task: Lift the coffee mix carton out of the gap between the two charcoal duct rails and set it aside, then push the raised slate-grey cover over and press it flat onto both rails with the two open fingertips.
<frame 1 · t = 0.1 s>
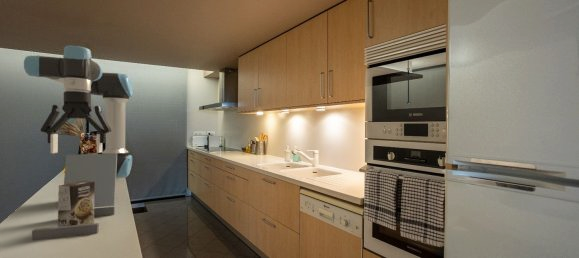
hand: (77, 152, 95), 28 cm above the counter, tool pointing down, fingers open, 13 cm apart
duct rails: (78, 225, 103), on the counter
coffee box: (76, 227, 101), on the counter
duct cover: (90, 180, 115), point 14 cm above the counter, hinge at 100.0°
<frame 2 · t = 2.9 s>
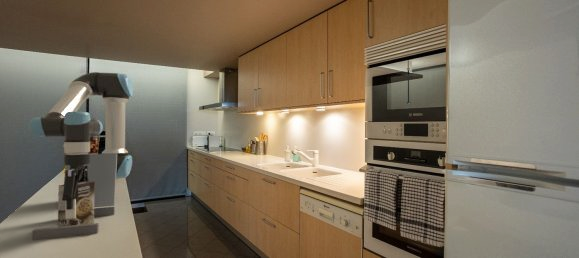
hand: (76, 213, 101), 5 cm above the counter, tool pointing down, fingers closed on coffee box, 10 cm apart
coffee box: (76, 227, 101), on the counter, touching gripper
everything else where it was.
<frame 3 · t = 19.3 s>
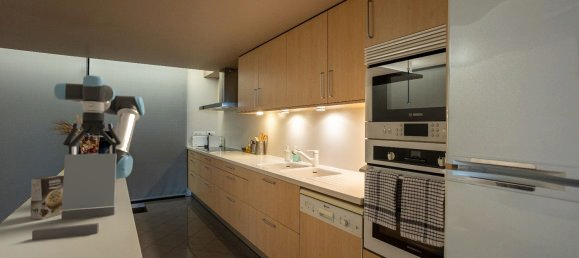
hand: (93, 161, 117), 22 cm above the counter, tool pointing down
coffee box: (48, 216, 114), on the counter
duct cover: (90, 180, 114), point 15 cm above the counter, hinge at 96.9°, touching gripper
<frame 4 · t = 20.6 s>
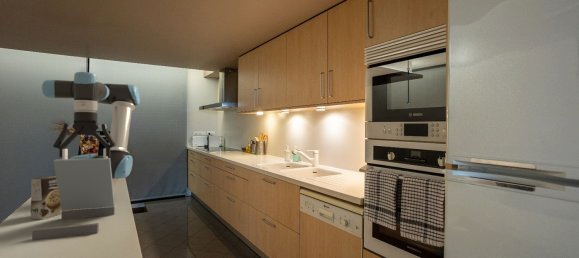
hand: (85, 165, 109), 22 cm above the counter, tool pointing down, fingers open, 13 cm apart
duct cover: (86, 184, 110), point 14 cm above the counter, hinge at 70.5°
everything else where it was.
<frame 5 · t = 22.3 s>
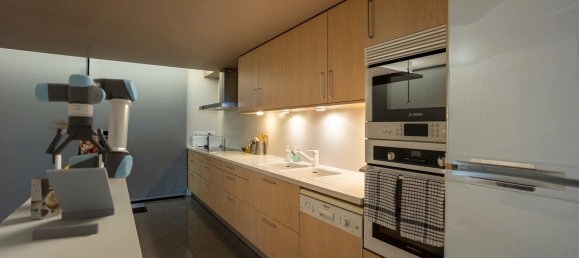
hand: (80, 171, 104), 20 cm above the counter, tool pointing down, fingers open, 13 cm apart
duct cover: (83, 189, 107), point 12 cm above the counter, hinge at 53.0°, touching gripper
everything else where it was.
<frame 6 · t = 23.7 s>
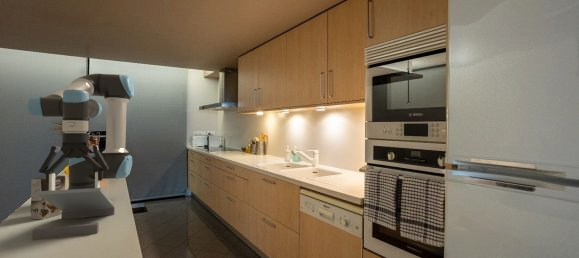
hand: (75, 191, 99), 14 cm above the counter, tool pointing down
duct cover: (80, 200, 104), point 9 cm above the counter, hinge at 29.7°, touching gripper
everything else where it was.
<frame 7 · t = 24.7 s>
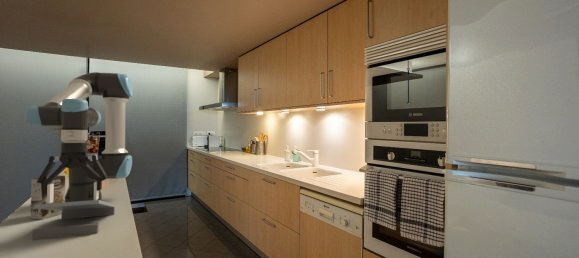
hand: (73, 201, 98), 10 cm above the counter, tool pointing down
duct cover: (79, 205, 103), point 7 cm above the counter, hinge at 18.5°, touching gripper
everything else where it was.
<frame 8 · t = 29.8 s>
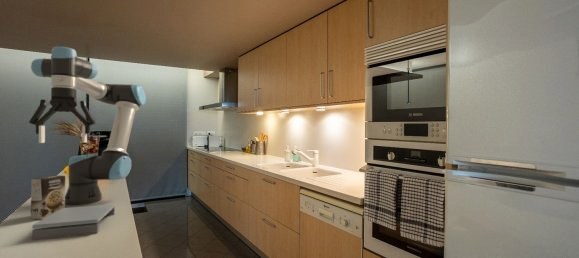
hand: (63, 142, 106), 31 cm above the counter, tool pointing down, fingers open, 13 cm apart
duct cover: (78, 214, 103), point 4 cm above the counter, hinge at 1.4°
everything else where it was.
at the end: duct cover at +1° (first picture: +100°); coffee box inside the target area (0.2 cm from its centre), on the counter; coffee box tilted 0° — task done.
